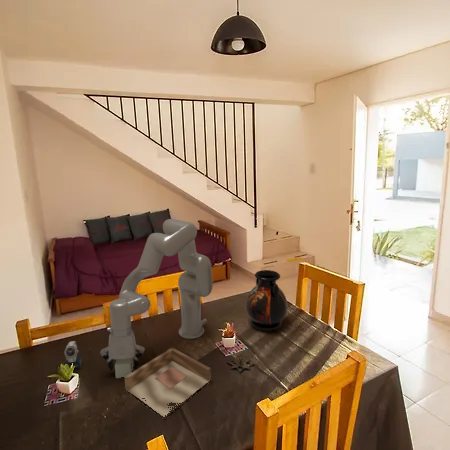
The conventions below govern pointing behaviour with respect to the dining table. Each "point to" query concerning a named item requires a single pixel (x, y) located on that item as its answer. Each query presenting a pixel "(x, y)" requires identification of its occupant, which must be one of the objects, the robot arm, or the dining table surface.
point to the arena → (167, 380)
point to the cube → (123, 367)
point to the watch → (72, 355)
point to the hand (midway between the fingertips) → (123, 368)
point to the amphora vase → (266, 302)
